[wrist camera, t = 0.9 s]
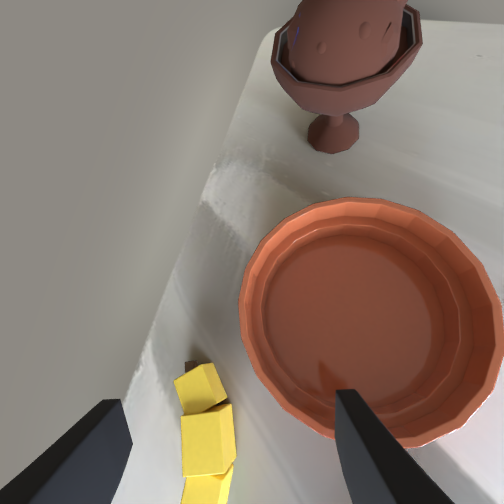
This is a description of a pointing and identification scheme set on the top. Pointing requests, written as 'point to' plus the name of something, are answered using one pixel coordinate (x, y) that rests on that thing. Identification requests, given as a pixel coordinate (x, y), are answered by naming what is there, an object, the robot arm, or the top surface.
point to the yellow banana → (205, 435)
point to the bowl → (372, 318)
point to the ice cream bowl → (343, 61)
